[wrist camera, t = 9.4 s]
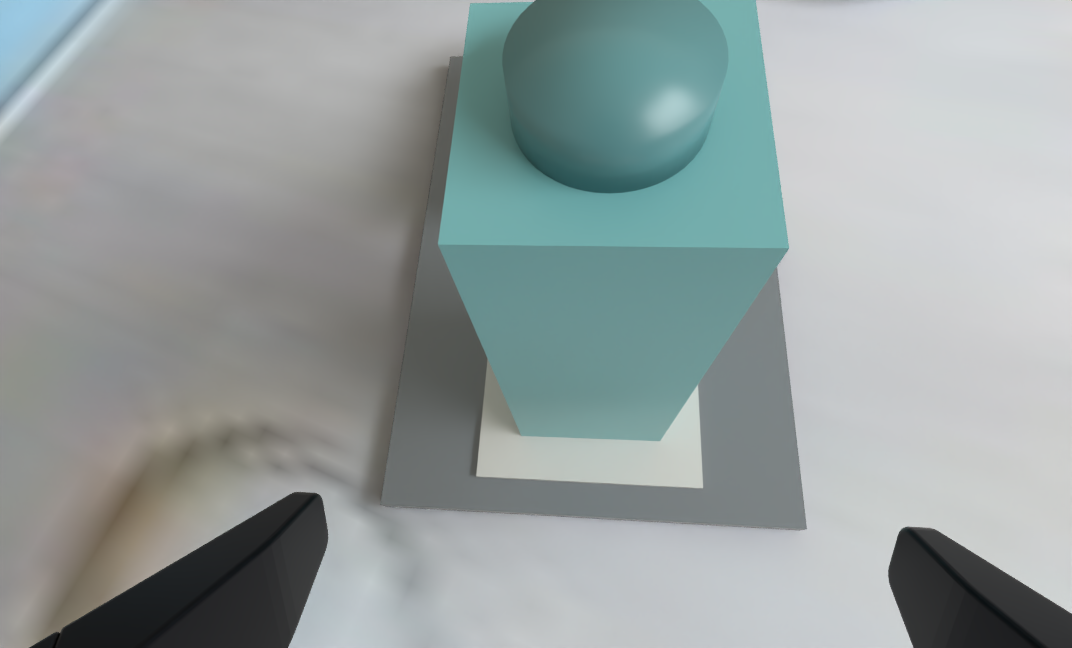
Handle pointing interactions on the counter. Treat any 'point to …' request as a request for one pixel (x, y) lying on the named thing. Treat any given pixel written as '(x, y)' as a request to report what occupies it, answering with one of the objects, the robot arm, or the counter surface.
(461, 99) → the plug
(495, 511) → the grey board with socket
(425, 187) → the counter surface
